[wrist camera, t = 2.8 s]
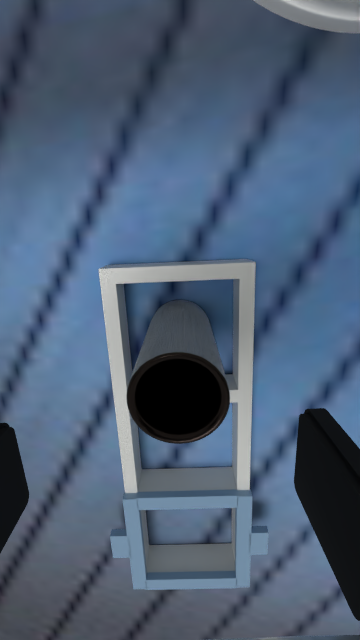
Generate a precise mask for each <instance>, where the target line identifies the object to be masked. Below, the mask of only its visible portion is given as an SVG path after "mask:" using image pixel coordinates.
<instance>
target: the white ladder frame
mask: <svg viewBox="0 0 360 640" xmlns="http://www.w3.org/2000/svg"><path fill="white" fill-rule="evenodd" d="M255 268H256V262H254V261H251V260H249V259H234V260H210V261H187V262H164V263H141V264H118V265H107V266H104V267H102V268H100V269H99V277H100V285H101V294H102V302H103V310H104V319H105V327H106V336H107V344H108V352H109V361H110V369H111V378H112V386H113V394H114V403H115V411H116V420H117V428H118V437H119V445H120V453H121V462H122V470H123V479H124V487H125V493H124V496H123V507H124V515H125V523H126V529H114V530H112V531H111V535H110V539H111V546H112V553H113V558H130V564H131V572H132V580H133V588H134V589H146V590H163V589H216V588H237V587H250V559H251V555H267V553H268V534H269V533H268V529H267V526H252V493H251V490H250V453H251V416H252V379H253V342H254V305H255ZM219 279H233V374H225V376H226V379H227V382H228V386H229V391H230V403H231V402H232V467H209V468H173V469H142V467H141V457H140V446H139V436H138V426H137V424H136V423H135V422H134V420H133V419H132V417H131V415H130V413H129V410H128V406H127V399H126V394H127V388H128V384H129V381H130V378H131V375H132V364H131V354H130V343H129V333H128V323H127V312H126V302H125V292H124V283H147V282H171V281H195V280H219ZM206 508H232V543H226V544H181V545H149V539H148V529H147V519H146V510H166V509H206Z"/></svg>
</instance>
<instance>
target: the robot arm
mask: <svg viewBox="0 0 360 640" xmlns="http://www.w3.org/2000/svg"><path fill="white" fill-rule="evenodd" d="M294 484H295V489H296V492H297V495H298V497H299V499H300V501H301V503H302V505H303V508H304V510H305V512H306V514H307V516H308V518H309V521H310V523H311V525H312V527H313V529H314V531H315V534H316V536H317V538H318V540H319V542H320V544H321V546H322V549H323V551H324V553H325V555H326V557H327V559H328V562H329V564H330V566H331V568H332V570H333V572H334V575H335V577H336V579H337V581H338V583H339V585H340V587H341V590H342V592H343V594H344V596H345V598H346V600H347V603H348V605H349V607H350V609H351V611H352V613H353V615H354V617H355V618H356V619H357V620H358V621H360V449H359V448H358V446H357V445H356V444H355V443H354V442H353V441H352V439H351V438H350V437H349V436H348V435H347V433H346V432H345V431H344V430H343V429H342V428H341V426H340V425H339V424H338V423H337V422H336V421H335V419H334V418H333V417H332V416H331V415H330V413H329V412H328V411H327V410H326V409H324V408H320V409H306V410H305V412H304V414H300V416H299V426H298V438H297V451H296V463H295V476H294ZM28 499H29V490H28V486H27V482H26V478H25V473H24V469H23V465H22V461H21V456H20V452H19V448H18V443H17V439H16V435H15V431H14V429H13V428H12V427H10V426H9V425H8V424H7V423H0V553H1V551H2V549H3V547H4V546H5V544H6V542H7V540H8V538H9V536H10V535H11V533H12V531H13V529H14V527H15V525H16V524H17V522H18V520H19V518H20V516H21V515H22V513H23V511H24V509H25V507H26V505H27V503H28ZM214 640H360V635H339V636H292V637H266V638H240V639H214Z"/></svg>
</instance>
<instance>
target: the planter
mask: <svg viewBox="0 0 360 640" xmlns="http://www.w3.org/2000/svg"><path fill="white" fill-rule="evenodd" d="M126 399H127V406H128V410H129V413H130V415H131V417H132V419H133V420H134V422H135V423H136V424H137V426H138V427H139V428H140V429H141V430H142V431H144V432H145V433H146V434H148V435H149V436H151V437H153V438H155V439H157V440H160V441H163V442H168V443H176V444H181V443H190V442H194V441H197V440H200V439H202V438H204V437H206V436H208V435H209V434H211V433H212V432H213V431H215V430H216V429H217V428H218V427H219V426H220V424H221V423H222V422H223V420H224V418H225V417H226V414H227V412H228V409H229V405H230V391H229V386H228V382H227V379H226V376H225V372H224V369H223V365H222V362H221V359H220V355H219V352H218V349H217V345H216V342H215V339H214V335H213V332H212V328H211V325H210V322H209V319H208V317H207V315H206V313H205V312H204V311H203V309H202V308H201V307H199V306H198V305H197V304H195V303H193V302H190V301H187V300H174V301H170V302H168V303H166V304H164V305H162V306H161V307H160V308H159V309H158V310H157V311H156V313H155V314H154V316H153V318H152V320H151V323H150V326H149V328H148V331H147V334H146V337H145V339H144V342H143V345H142V348H141V350H140V353H139V356H138V359H137V361H136V364H135V367H134V370H133V372H132V375H131V378H130V381H129V384H128V388H127V394H126Z"/></svg>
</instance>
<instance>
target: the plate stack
mask: <svg viewBox="0 0 360 640" xmlns="http://www.w3.org/2000/svg"><path fill="white" fill-rule="evenodd" d="M253 1H255V2H256V3H258V4H259V5H261V6H263V7H264V8H266V9H268V10H270V11H272V12H273V13H275V14H278V15H280V16H282V17H284V18H286V19H289V20H291V21H294V22H297V23H300V24H303V25H306V26H309V27H313V28H317V29H322V30H327V31H333V32H341V33H360V0H253Z"/></svg>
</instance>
